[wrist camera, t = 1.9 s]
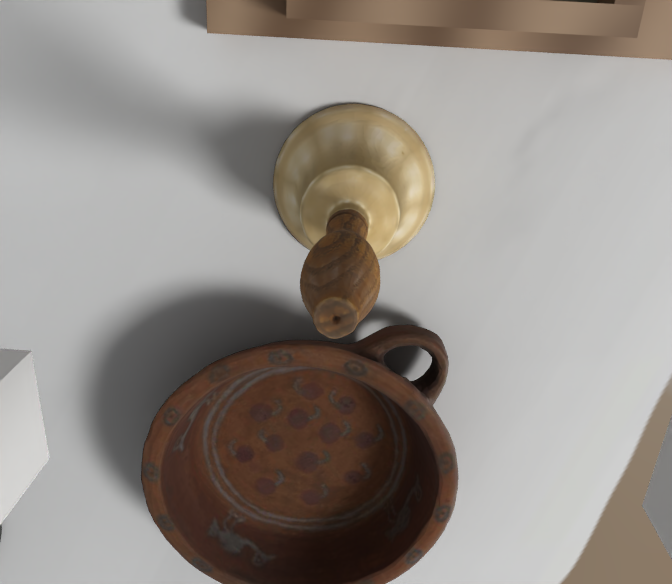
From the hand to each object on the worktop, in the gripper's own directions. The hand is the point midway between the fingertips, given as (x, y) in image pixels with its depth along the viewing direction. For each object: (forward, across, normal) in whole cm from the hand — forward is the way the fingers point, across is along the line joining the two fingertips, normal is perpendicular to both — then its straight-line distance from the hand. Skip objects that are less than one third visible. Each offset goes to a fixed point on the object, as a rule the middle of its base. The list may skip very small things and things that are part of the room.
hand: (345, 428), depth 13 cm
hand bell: (+21, 0, 0) cm, 21 cm away
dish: (+21, -2, -16) cm, 27 cm away
